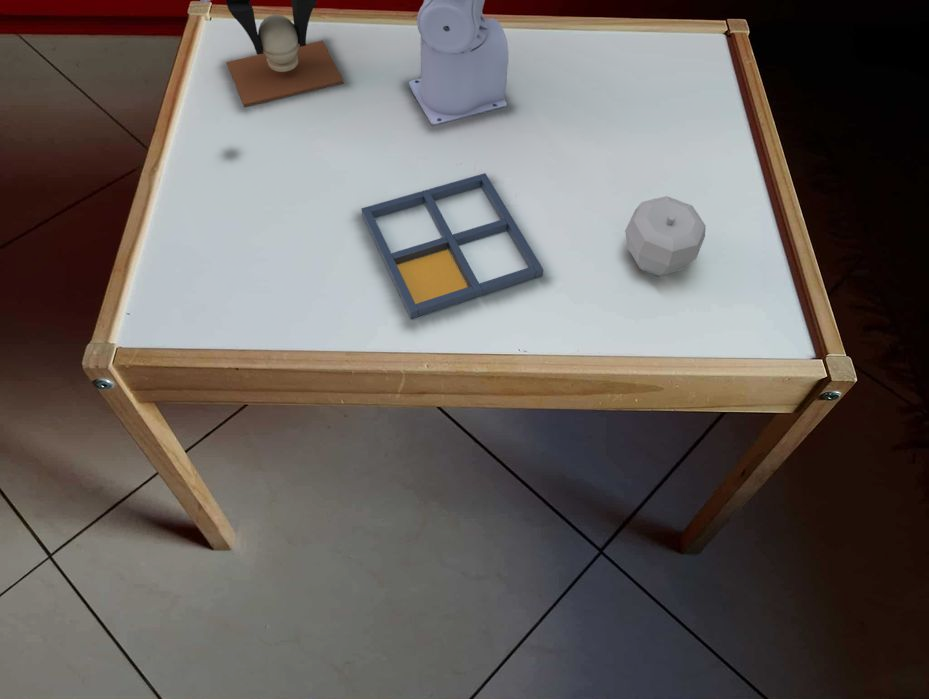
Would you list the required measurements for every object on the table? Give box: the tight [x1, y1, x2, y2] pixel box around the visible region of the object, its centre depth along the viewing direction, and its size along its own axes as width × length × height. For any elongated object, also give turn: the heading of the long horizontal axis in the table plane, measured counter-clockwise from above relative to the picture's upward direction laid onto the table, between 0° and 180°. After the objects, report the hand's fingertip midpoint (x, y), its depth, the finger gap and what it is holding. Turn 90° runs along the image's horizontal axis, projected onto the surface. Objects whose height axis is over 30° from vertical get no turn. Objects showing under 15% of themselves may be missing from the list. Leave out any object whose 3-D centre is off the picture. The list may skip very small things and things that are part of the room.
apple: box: [624, 195, 707, 277], centre depth 74 cm, size 8×8×7 cm
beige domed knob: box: [257, 14, 300, 72], centre depth 86 cm, size 4×4×6 cm
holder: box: [360, 172, 544, 320], centre depth 76 cm, size 14×14×2 cm
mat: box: [226, 40, 344, 107], centre depth 90 cm, size 12×8×1 cm, turn 113°
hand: (279, 45), depth 86 cm, fingers closed on beige domed knob, 4 cm apart
